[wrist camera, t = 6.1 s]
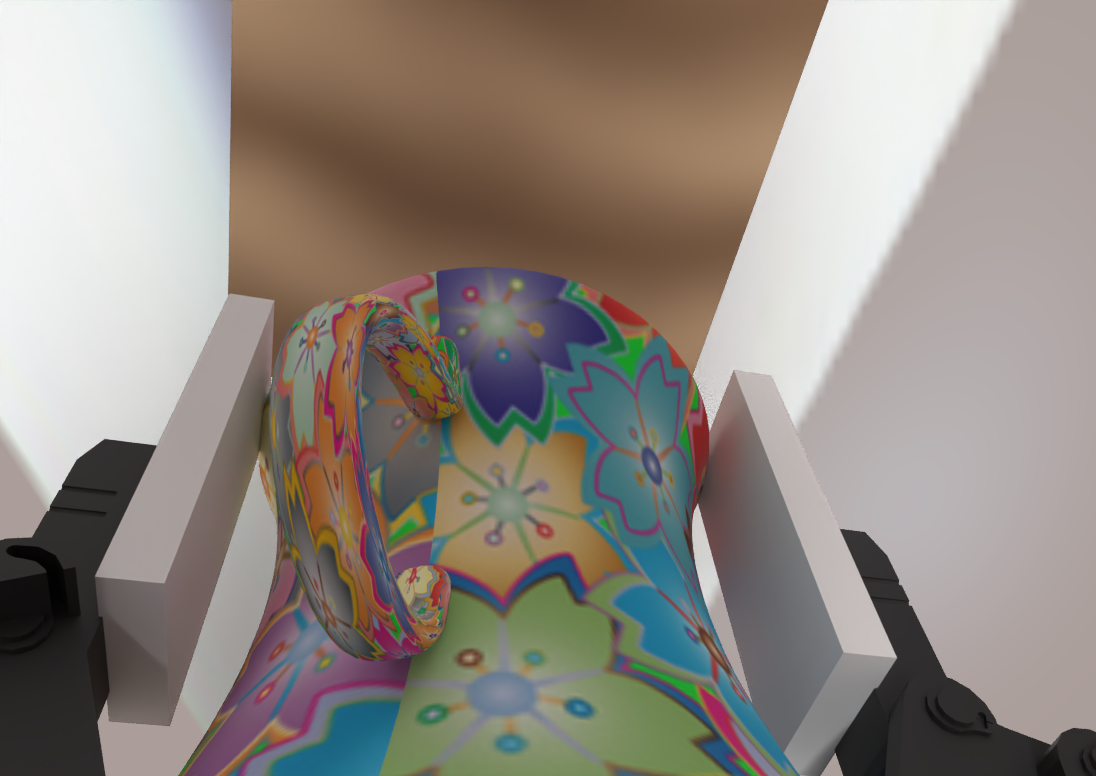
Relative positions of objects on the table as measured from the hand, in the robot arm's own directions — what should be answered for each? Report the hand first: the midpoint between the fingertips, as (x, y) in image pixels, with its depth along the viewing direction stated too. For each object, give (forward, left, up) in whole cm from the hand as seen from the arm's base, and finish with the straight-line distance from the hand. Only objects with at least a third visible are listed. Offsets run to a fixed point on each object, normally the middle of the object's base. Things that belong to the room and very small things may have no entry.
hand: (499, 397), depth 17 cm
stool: (0, 0, -17) cm, 17 cm away
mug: (0, -1, -1) cm, 1 cm away
